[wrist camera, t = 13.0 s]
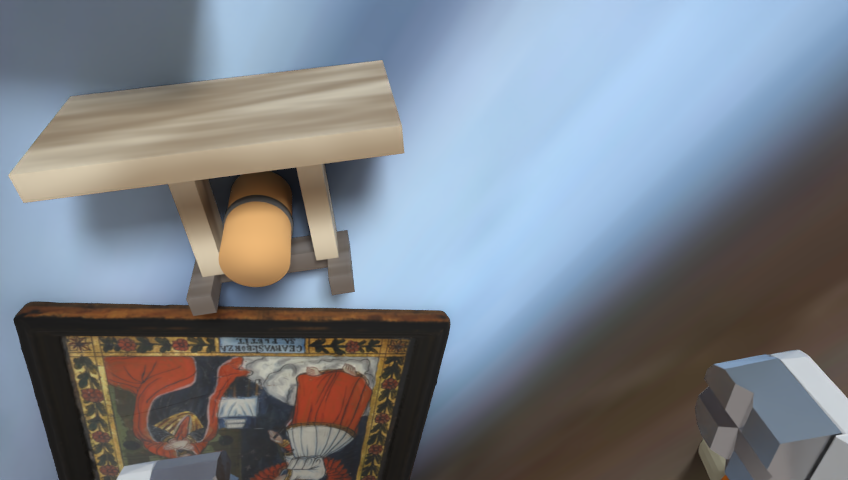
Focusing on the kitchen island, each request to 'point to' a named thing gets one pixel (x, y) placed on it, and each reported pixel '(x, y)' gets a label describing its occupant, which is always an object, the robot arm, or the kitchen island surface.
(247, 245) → the banded tan cylinder
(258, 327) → the framed icon painting
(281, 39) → the kitchen island surface
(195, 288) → the wooden trestle bench
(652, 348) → the kitchen island surface
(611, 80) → the kitchen island surface
